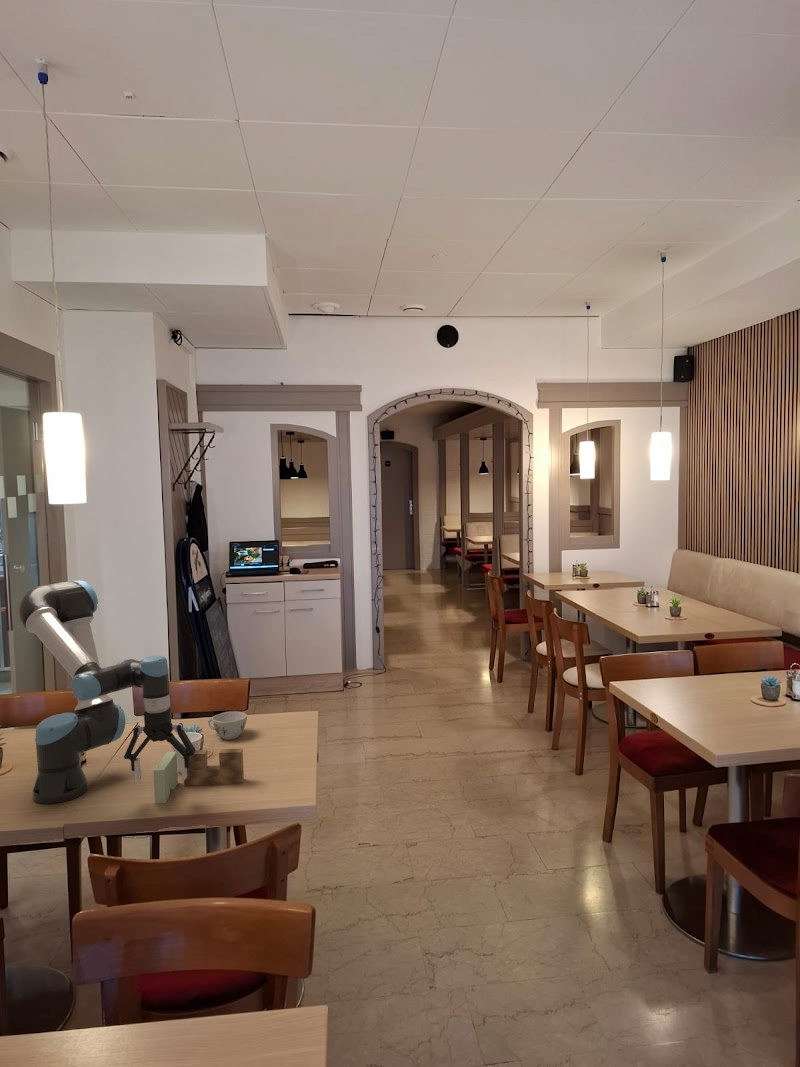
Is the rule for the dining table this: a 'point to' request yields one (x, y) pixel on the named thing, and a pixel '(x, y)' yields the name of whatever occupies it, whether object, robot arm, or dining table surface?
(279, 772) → the dining table surface
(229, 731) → the teacup
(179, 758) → the cup
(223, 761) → the walnut board
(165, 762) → the green board
